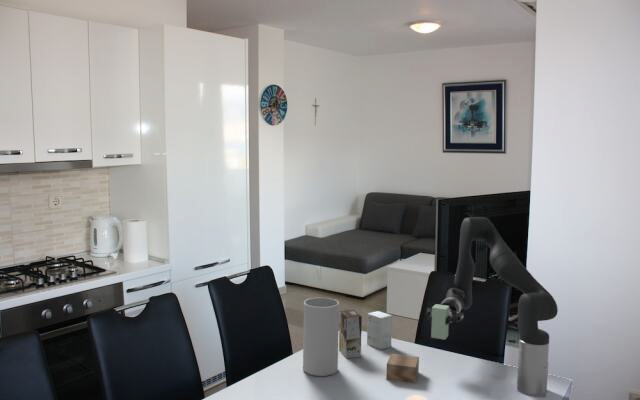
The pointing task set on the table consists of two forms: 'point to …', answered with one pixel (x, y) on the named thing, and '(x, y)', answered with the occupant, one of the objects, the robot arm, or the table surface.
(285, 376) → the table surface
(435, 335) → the sage block
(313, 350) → the cylinder vase
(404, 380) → the walnut block
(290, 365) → the table surface
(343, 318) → the coffee box
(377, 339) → the small box
